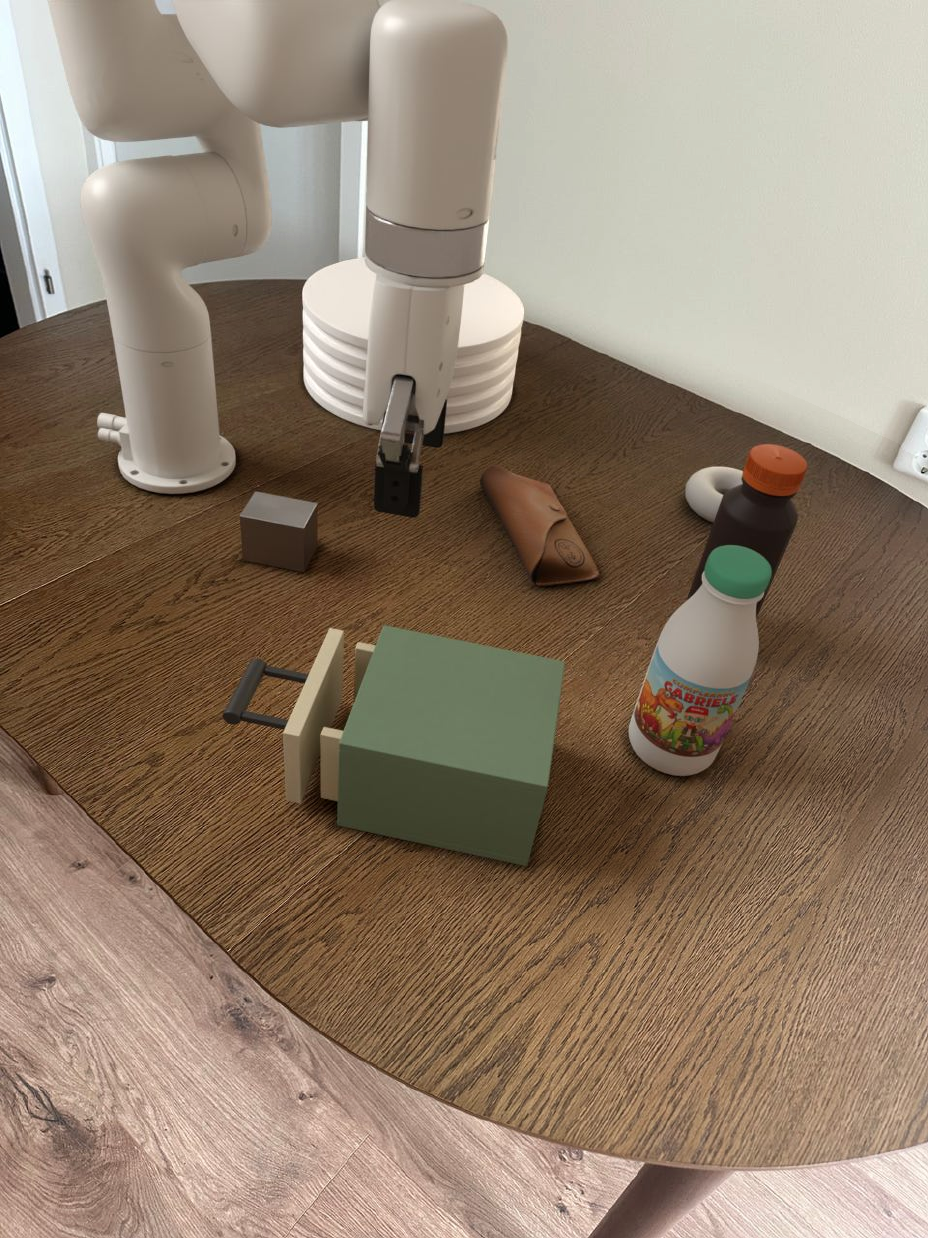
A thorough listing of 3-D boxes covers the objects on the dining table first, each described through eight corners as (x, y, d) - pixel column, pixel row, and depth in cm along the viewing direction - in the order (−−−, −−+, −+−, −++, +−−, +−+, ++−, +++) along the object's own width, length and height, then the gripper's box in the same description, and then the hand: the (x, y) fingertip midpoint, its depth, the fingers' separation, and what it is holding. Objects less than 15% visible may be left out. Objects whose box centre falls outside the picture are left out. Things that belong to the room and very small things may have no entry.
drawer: (213, 785, 69) (204, 716, 64) (264, 681, 78) (260, 613, 73) (459, 838, 68) (471, 772, 63) (484, 727, 77) (496, 661, 71)
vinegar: (665, 616, 91) (723, 443, 78) (720, 604, 94) (785, 433, 80) (703, 662, 87) (771, 486, 74) (760, 647, 89) (836, 474, 76)
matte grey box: (242, 560, 91) (239, 515, 87) (257, 535, 94) (255, 491, 91) (304, 572, 91) (303, 528, 87) (317, 547, 94) (317, 502, 90)
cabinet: (337, 825, 69) (338, 743, 62) (378, 707, 78) (383, 624, 72) (526, 867, 68) (548, 787, 61) (545, 741, 77) (565, 661, 71)
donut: (762, 543, 103) (769, 497, 110) (772, 519, 101) (779, 473, 108) (675, 519, 105) (688, 475, 112) (683, 495, 102) (695, 451, 110)
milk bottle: (618, 710, 81) (676, 528, 68) (701, 710, 82) (774, 531, 69) (637, 779, 75) (705, 595, 62) (726, 779, 76) (811, 598, 63)
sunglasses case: (606, 575, 94) (586, 534, 90) (546, 608, 95) (524, 569, 90) (545, 480, 107) (525, 439, 102) (493, 509, 108) (471, 470, 103)
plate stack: (393, 317, 137) (398, 240, 130) (550, 383, 126) (564, 303, 119) (258, 377, 119) (254, 291, 111) (427, 460, 108) (436, 371, 101)
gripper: (395, 191, 63) (385, 413, 74) (330, 282, 50) (330, 534, 61) (502, 207, 63) (476, 428, 74) (464, 302, 50) (440, 553, 61)
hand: (410, 476), depth 68 cm, fingers open, 9 cm apart
